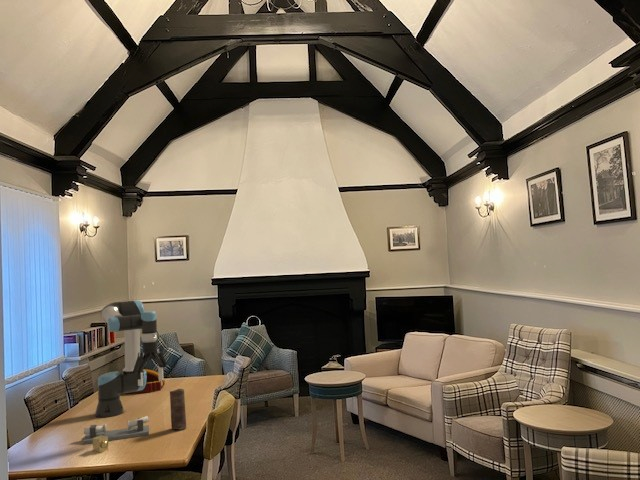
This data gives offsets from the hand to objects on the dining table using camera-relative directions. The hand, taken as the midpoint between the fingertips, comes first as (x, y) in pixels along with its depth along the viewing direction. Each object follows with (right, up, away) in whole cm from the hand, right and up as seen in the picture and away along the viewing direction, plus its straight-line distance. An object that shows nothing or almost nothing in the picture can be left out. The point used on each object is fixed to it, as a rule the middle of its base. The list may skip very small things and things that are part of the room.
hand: (151, 382), depth 263 cm
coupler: (-14, -23, -28) cm, 39 cm away
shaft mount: (-14, -24, -8) cm, 29 cm away
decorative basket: (-39, -32, +95) cm, 108 cm away
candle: (+15, -24, -1) cm, 28 cm away
